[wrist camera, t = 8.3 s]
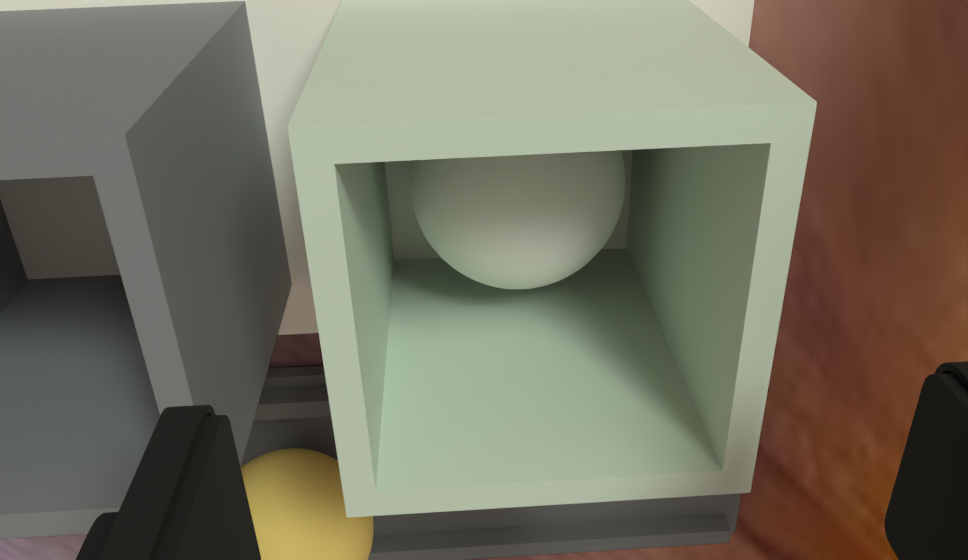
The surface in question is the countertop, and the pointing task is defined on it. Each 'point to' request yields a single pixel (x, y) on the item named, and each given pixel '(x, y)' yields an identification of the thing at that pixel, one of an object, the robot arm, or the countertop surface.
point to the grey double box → (386, 243)
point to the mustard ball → (303, 508)
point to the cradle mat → (486, 532)
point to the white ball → (519, 213)
